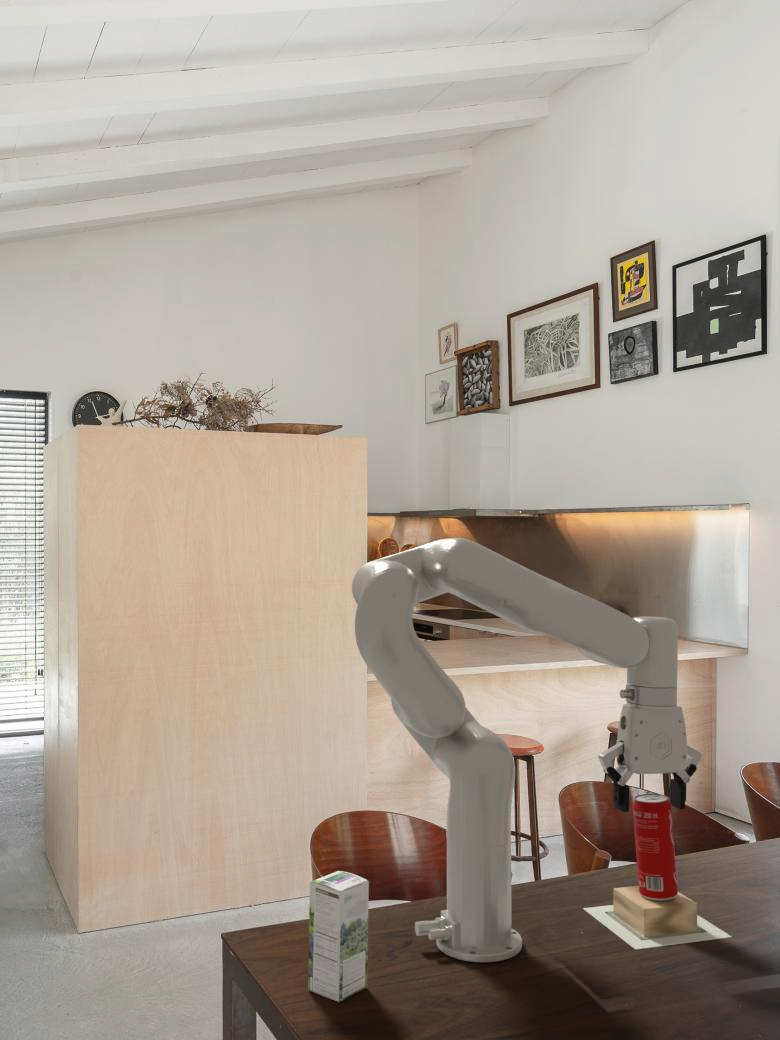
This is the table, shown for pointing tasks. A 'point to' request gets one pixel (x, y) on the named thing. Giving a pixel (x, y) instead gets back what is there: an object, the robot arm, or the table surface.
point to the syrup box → (338, 935)
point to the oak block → (654, 912)
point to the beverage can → (655, 847)
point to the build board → (640, 942)
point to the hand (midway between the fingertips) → (649, 808)
